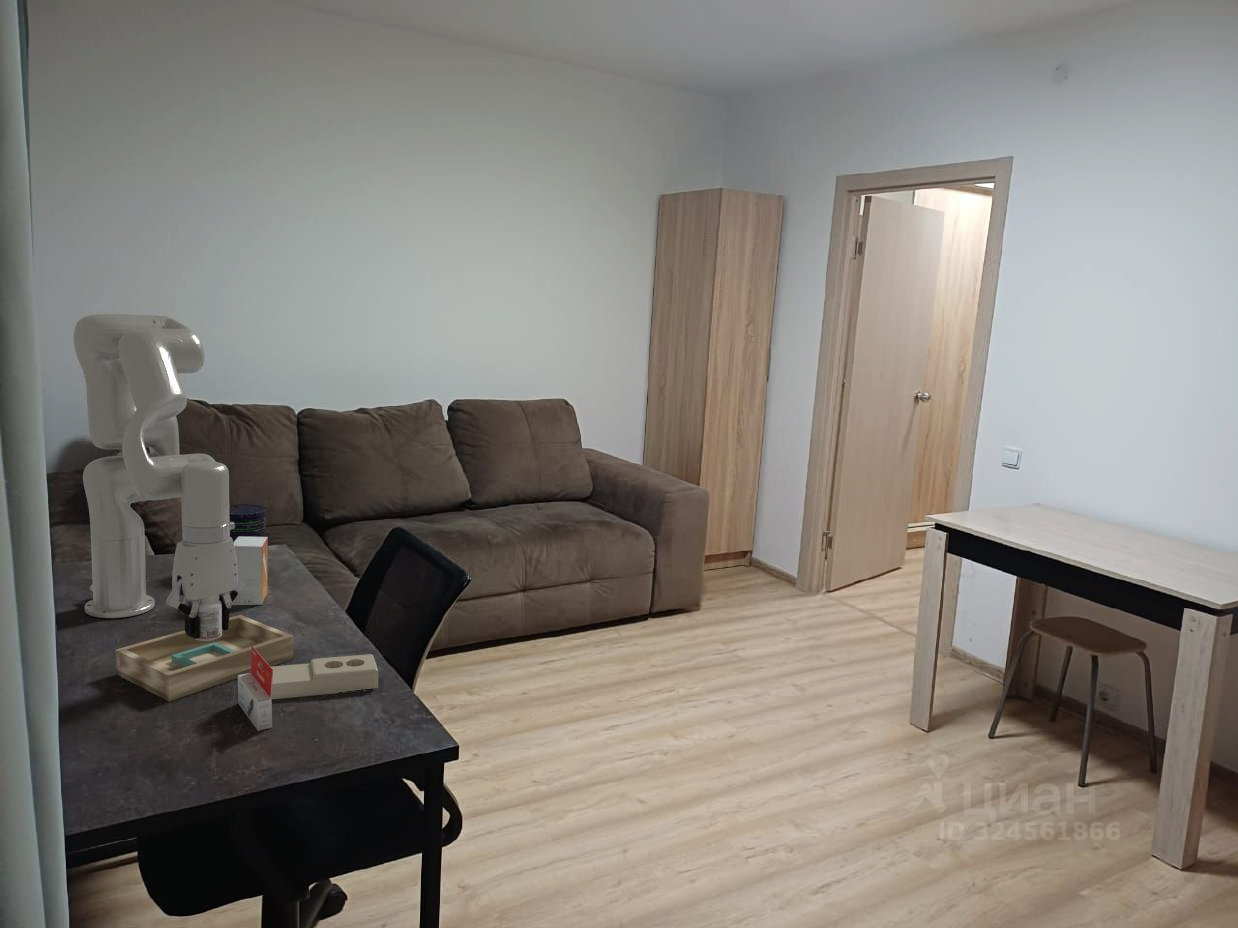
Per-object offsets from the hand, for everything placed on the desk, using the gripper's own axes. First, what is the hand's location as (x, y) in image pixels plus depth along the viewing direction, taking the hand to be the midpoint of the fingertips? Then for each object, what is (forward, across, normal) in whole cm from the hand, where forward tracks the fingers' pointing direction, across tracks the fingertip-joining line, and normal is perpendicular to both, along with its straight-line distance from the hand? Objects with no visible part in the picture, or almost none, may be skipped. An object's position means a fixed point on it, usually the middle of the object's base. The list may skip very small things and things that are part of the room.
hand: (207, 631), depth 163 cm
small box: (+7, -26, -25) cm, 37 cm away
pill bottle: (+1, 0, 0) cm, 1 cm away
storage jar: (+7, -37, -43) cm, 57 cm away
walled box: (+7, 0, 0) cm, 7 cm away
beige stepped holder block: (+7, -8, +21) cm, 23 cm away
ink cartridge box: (+7, +6, +22) cm, 24 cm away
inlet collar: (+7, 0, 0) cm, 7 cm away
